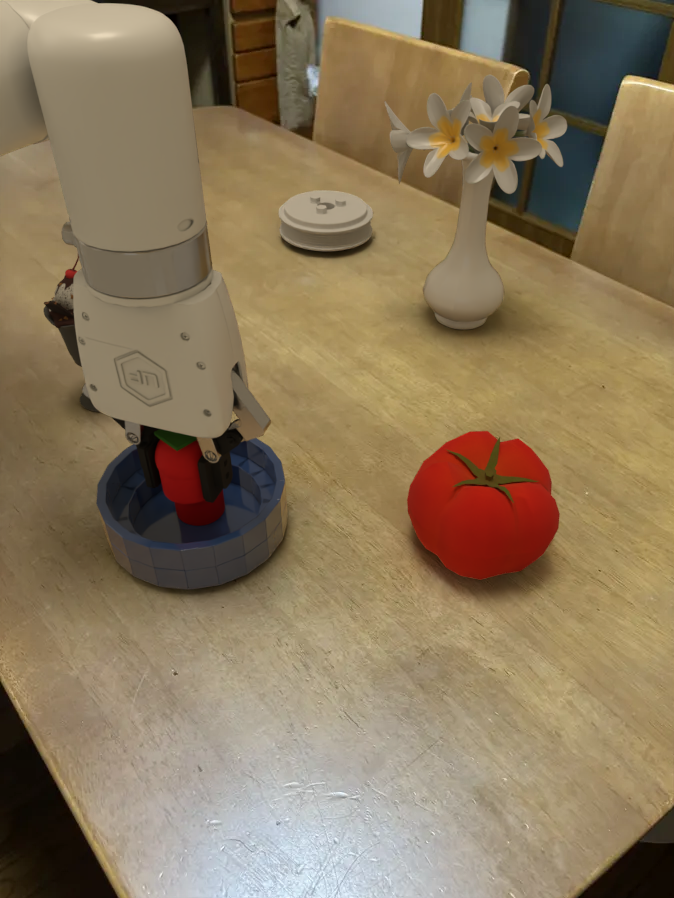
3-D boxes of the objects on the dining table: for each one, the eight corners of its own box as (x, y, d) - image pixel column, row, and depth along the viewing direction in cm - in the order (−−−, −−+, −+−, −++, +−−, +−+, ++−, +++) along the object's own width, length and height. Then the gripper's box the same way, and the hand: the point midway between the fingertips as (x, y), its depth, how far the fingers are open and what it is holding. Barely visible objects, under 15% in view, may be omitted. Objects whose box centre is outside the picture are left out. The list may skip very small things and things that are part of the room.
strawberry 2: (164, 509, 63) (155, 461, 59) (204, 484, 65) (197, 437, 61) (197, 534, 61) (188, 487, 57) (236, 508, 63) (231, 461, 59)
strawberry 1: (150, 487, 57) (137, 432, 53) (194, 461, 59) (184, 406, 56) (185, 513, 55) (174, 458, 51) (229, 485, 57) (221, 431, 54)
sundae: (134, 373, 78) (103, 234, 68) (144, 409, 74) (113, 266, 63) (68, 384, 76) (26, 243, 66) (74, 423, 72) (30, 278, 62)
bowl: (74, 529, 62) (59, 484, 58) (211, 448, 70) (205, 404, 66) (185, 626, 55) (175, 581, 52) (322, 524, 63) (322, 479, 60)
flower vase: (368, 297, 91) (374, 67, 74) (512, 287, 94) (551, 64, 77) (390, 355, 82) (404, 108, 65) (549, 342, 85) (602, 102, 68)
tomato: (426, 485, 67) (435, 403, 61) (560, 523, 64) (584, 440, 58) (383, 569, 60) (389, 485, 53) (532, 616, 57) (557, 533, 50)
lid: (391, 238, 103) (392, 202, 100) (325, 267, 97) (324, 229, 93) (327, 210, 110) (326, 175, 106) (260, 236, 103) (258, 199, 99)
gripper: (-16, 259, 44) (64, 490, 56) (249, 309, 40) (272, 543, 53) (61, 209, 49) (118, 431, 61) (301, 250, 45) (310, 476, 58)
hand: (189, 481), depth 57 cm, fingers closed on strawberry 1, 4 cm apart
